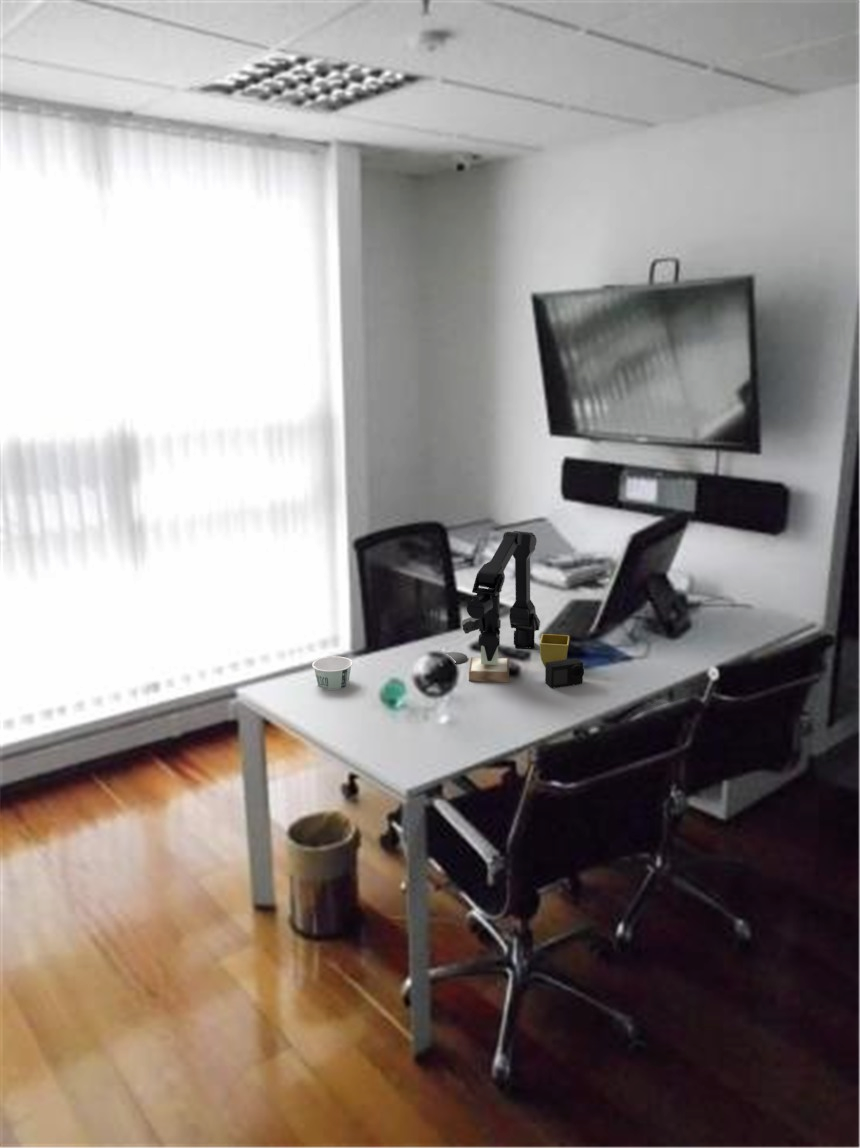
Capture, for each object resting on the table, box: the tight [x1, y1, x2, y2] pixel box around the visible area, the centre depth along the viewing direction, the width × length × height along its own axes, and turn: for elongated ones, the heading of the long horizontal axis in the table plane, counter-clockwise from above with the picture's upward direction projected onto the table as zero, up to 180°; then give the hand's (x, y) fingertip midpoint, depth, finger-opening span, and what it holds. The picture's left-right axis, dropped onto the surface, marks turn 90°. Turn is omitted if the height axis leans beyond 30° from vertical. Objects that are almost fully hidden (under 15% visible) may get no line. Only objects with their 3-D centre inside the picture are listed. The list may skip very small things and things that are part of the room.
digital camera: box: [544, 657, 585, 689], centre depth 261 cm, size 10×5×7 cm, turn 108°
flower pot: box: [539, 633, 570, 669], centre depth 275 cm, size 9×9×9 cm
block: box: [480, 646, 499, 665], centre depth 269 cm, size 5×5×6 cm
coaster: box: [444, 651, 468, 665], centre depth 283 cm, size 9×9×1 cm
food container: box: [311, 655, 353, 690], centre depth 264 cm, size 12×12×6 cm
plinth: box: [468, 656, 510, 683], centre depth 270 cm, size 12×12×3 cm
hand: (489, 657), depth 269 cm, fingers closed on block, 5 cm apart
